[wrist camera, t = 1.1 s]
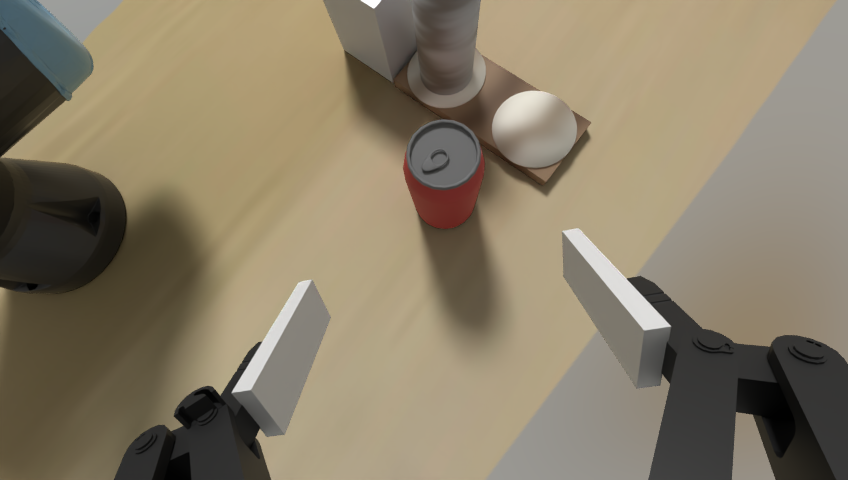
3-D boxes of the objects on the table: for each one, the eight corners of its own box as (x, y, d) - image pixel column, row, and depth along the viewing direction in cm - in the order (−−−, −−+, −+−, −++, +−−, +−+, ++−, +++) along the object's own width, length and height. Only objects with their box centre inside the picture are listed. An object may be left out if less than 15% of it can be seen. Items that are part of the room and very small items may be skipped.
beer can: (403, 197, 35) (381, 148, 24) (449, 161, 36) (450, 95, 24) (439, 242, 34) (435, 214, 22) (487, 205, 34) (507, 158, 23)
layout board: (393, 88, 38) (364, -23, 25) (439, 34, 39) (435, -101, 25) (541, 187, 34) (599, 120, 21) (588, 126, 35) (672, 25, 22)
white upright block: (344, 49, 39) (309, -33, 29) (384, 4, 40) (363, -91, 30) (393, 83, 38) (374, 8, 28) (433, 35, 39) (429, -54, 29)
